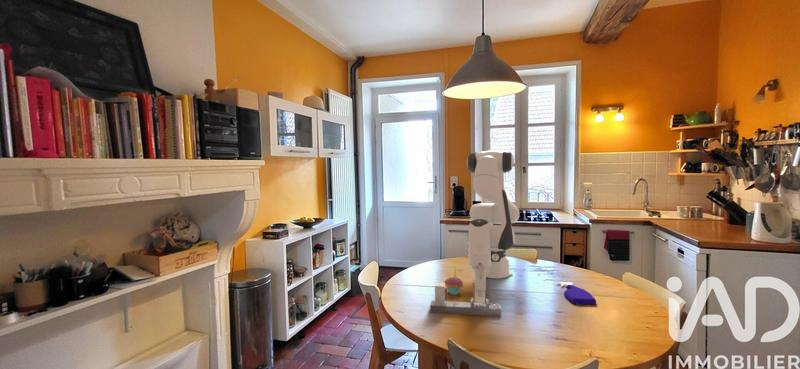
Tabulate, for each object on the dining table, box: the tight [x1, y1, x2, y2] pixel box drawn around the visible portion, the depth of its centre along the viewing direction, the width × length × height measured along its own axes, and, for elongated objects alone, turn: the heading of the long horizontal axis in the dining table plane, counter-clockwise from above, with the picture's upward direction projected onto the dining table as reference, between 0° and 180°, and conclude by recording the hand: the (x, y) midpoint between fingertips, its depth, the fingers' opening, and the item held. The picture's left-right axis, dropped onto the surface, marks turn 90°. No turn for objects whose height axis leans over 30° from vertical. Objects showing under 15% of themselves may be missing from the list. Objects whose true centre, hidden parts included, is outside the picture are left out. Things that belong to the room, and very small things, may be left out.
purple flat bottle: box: [556, 281, 597, 306], centre depth 155 cm, size 3×11×24 cm
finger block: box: [472, 279, 486, 303], centre depth 137 cm, size 4×5×8 cm
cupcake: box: [444, 266, 464, 296], centre depth 159 cm, size 9×8×12 cm
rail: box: [429, 282, 502, 317], centre depth 138 cm, size 5×28×11 cm, turn 79°
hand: (479, 293), depth 137 cm, fingers closed on finger block, 4 cm apart
